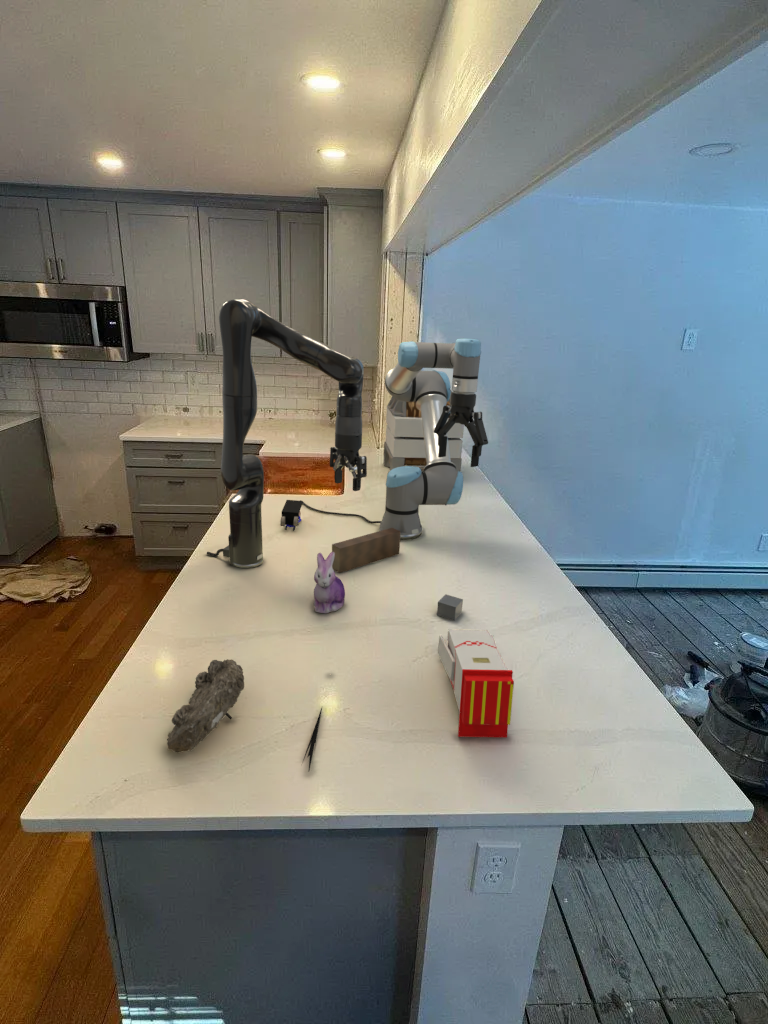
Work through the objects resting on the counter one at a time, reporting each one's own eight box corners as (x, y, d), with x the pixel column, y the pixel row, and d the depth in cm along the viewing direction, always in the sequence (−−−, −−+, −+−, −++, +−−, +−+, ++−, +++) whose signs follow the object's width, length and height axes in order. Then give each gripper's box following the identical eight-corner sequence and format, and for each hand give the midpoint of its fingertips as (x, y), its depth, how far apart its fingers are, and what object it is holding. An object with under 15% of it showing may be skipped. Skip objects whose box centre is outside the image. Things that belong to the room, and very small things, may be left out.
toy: (488, 613, 130) (523, 677, 101) (484, 667, 133) (517, 744, 104) (435, 612, 130) (455, 676, 101) (432, 666, 133) (451, 743, 103)
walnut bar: (339, 573, 168) (339, 548, 166) (331, 568, 171) (331, 544, 169) (399, 554, 183) (400, 531, 181) (391, 550, 186) (392, 527, 184)
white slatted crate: (382, 463, 289) (386, 382, 275) (445, 464, 293) (451, 384, 279) (390, 482, 257) (394, 392, 243) (460, 483, 261) (468, 394, 247)
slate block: (436, 615, 148) (437, 601, 146) (444, 607, 152) (445, 594, 151) (454, 620, 146) (455, 607, 144) (461, 612, 150) (463, 599, 148)
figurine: (319, 618, 143) (319, 564, 138) (305, 600, 152) (304, 548, 147) (353, 610, 148) (354, 558, 143) (337, 593, 156) (338, 543, 151)
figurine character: (299, 536, 197) (303, 517, 210) (298, 517, 193) (303, 498, 207) (279, 536, 197) (285, 516, 210) (278, 516, 193) (285, 497, 207)
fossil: (192, 660, 117) (244, 628, 112) (224, 691, 120) (276, 661, 115) (142, 746, 98) (202, 712, 93) (182, 779, 101) (242, 748, 96)
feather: (331, 679, 122) (336, 673, 122) (307, 777, 96) (313, 769, 95) (324, 675, 122) (329, 669, 121) (298, 772, 95) (304, 764, 95)
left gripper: (322, 427, 160) (322, 482, 166) (353, 437, 150) (352, 495, 156) (344, 425, 165) (342, 478, 171) (375, 434, 155) (373, 491, 161)
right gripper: (425, 387, 176) (421, 454, 183) (488, 399, 158) (480, 472, 166) (442, 386, 181) (437, 451, 188) (505, 397, 163) (497, 468, 170)
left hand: (347, 486), depth 163 cm, fingers open, 8 cm apart
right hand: (457, 461), depth 177 cm, fingers open, 13 cm apart
